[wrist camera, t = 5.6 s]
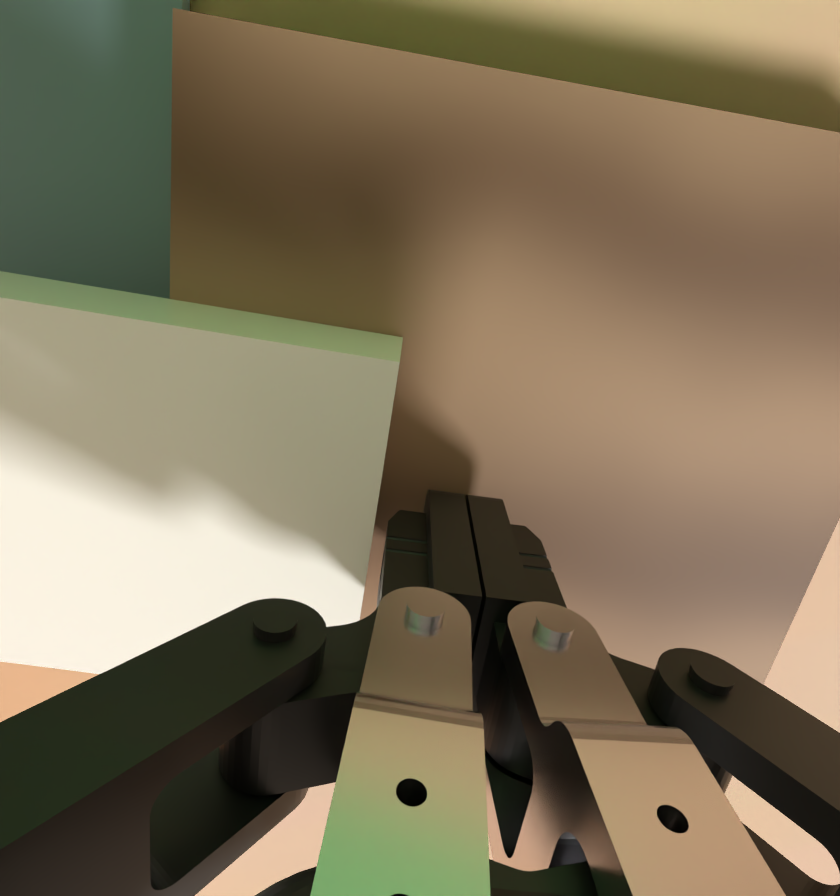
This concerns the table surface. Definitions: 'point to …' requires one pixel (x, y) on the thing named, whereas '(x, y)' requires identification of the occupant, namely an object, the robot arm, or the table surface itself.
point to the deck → (545, 308)
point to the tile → (177, 467)
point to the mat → (87, 141)
